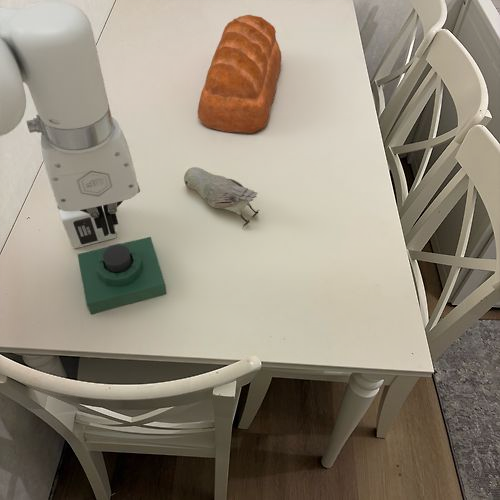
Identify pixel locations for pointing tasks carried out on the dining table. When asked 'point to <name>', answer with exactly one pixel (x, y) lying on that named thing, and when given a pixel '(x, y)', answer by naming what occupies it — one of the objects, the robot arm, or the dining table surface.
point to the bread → (241, 77)
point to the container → (82, 228)
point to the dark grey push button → (117, 258)
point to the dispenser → (121, 277)
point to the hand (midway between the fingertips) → (108, 227)
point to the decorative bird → (220, 191)
